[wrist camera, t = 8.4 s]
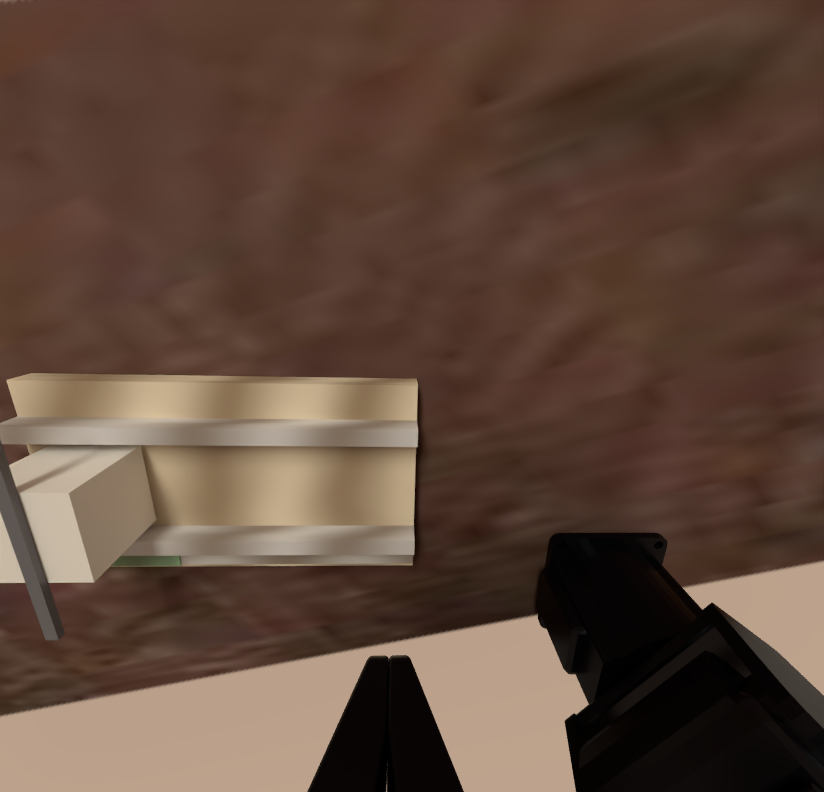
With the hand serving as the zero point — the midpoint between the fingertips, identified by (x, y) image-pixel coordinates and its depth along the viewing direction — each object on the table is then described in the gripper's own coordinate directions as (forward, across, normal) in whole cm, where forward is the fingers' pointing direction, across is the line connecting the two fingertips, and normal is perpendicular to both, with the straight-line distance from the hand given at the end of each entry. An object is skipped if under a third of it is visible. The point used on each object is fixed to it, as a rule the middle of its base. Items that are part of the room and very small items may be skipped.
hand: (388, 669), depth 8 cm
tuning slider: (+11, +14, +2) cm, 17 cm away
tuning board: (+12, +8, +2) cm, 15 cm away
